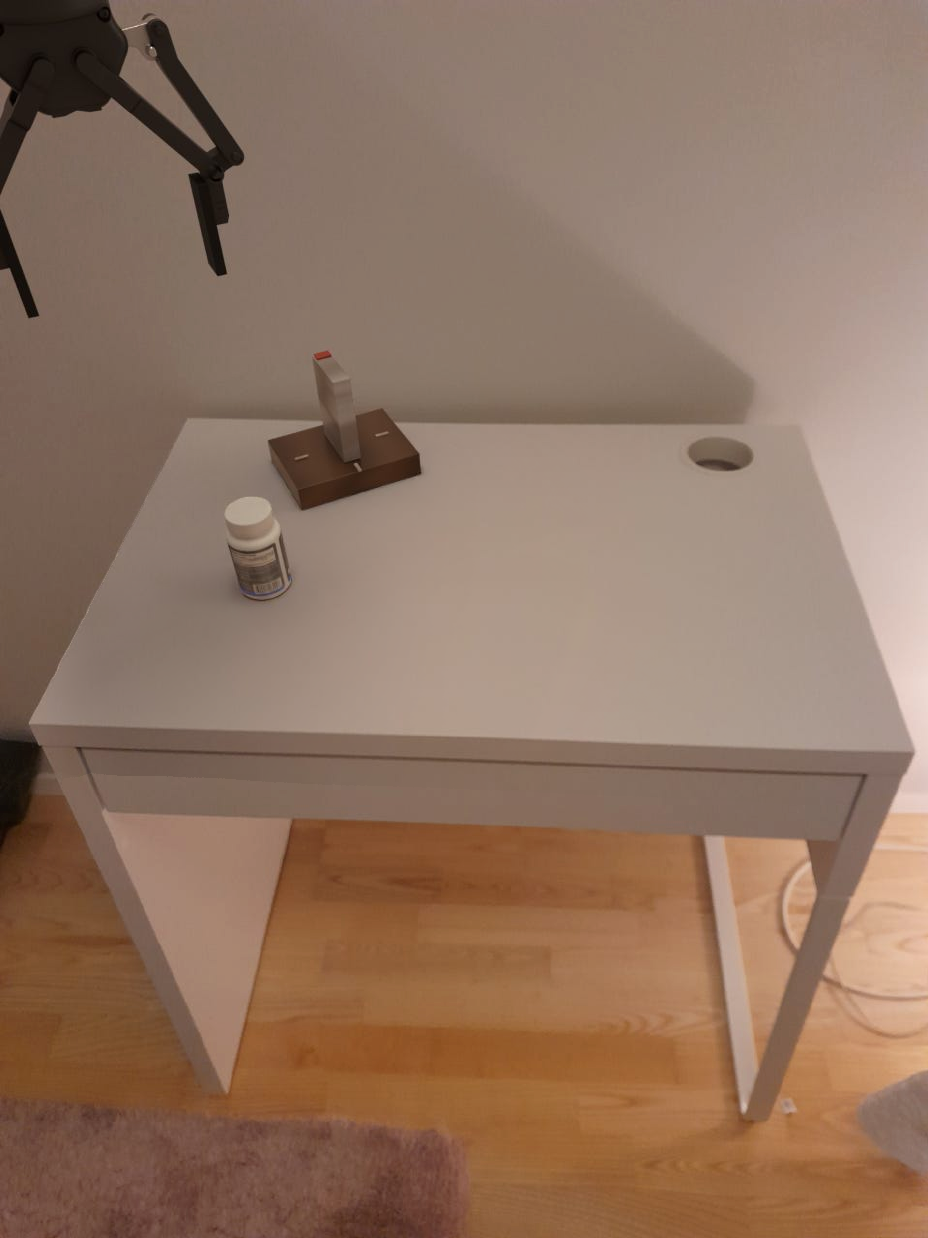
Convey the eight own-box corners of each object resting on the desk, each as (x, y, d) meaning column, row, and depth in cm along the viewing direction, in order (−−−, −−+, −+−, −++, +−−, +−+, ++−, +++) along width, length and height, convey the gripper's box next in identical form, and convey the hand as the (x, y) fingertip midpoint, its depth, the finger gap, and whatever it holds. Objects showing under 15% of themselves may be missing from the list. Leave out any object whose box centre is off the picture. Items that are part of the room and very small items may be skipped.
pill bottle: (255, 562, 88) (237, 488, 82) (300, 572, 86) (285, 498, 80) (229, 595, 84) (209, 521, 79) (276, 606, 83) (258, 531, 77)
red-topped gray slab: (361, 458, 95) (350, 375, 88) (344, 463, 94) (332, 380, 88) (340, 429, 99) (328, 348, 92) (324, 434, 98) (311, 353, 92)
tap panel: (302, 510, 93) (297, 488, 91) (271, 459, 100) (266, 438, 98) (421, 474, 97) (420, 452, 95) (384, 427, 104) (381, 405, 102)
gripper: (217, -95, 60) (274, 236, 75) (-214, -51, 53) (-57, 307, 68) (250, -81, 56) (305, 270, 70) (-220, -30, 48) (-49, 351, 63)
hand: (127, 289), depth 69 cm, fingers open, 13 cm apart
